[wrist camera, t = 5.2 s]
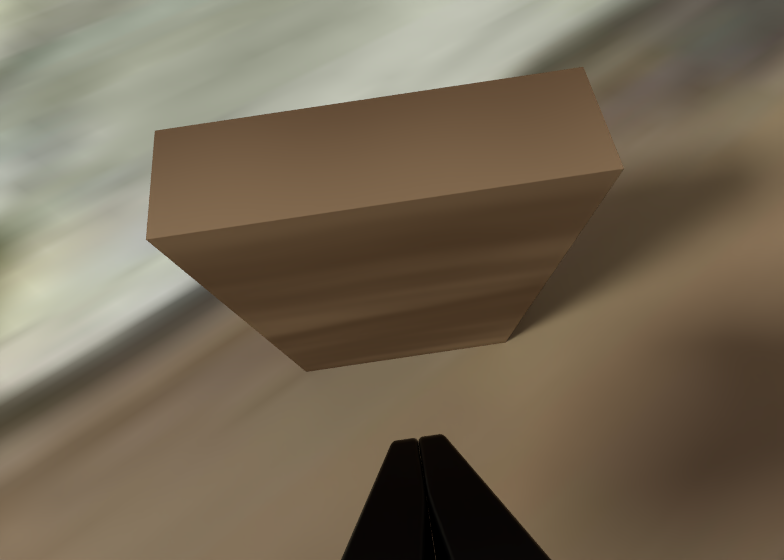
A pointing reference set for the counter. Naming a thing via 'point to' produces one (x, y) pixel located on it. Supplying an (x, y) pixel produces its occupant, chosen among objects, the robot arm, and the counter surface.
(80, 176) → the counter surface
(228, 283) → the walnut tile
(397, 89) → the counter surface
